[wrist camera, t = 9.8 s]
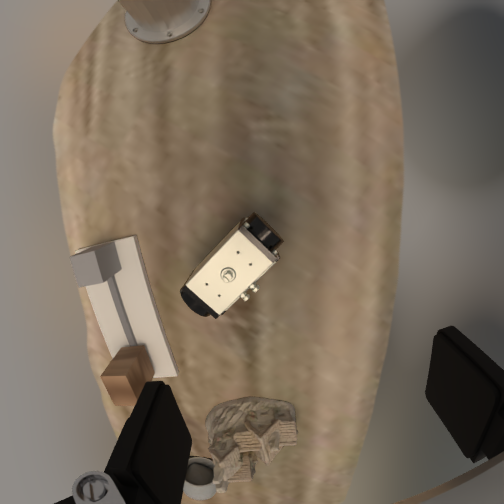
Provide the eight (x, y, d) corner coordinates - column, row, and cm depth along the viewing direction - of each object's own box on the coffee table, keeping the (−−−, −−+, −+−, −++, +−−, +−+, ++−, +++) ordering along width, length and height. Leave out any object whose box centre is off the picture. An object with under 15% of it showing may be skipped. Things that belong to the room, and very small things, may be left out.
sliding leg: (106, 348, 42) (84, 376, 34) (144, 345, 42) (125, 375, 34) (117, 375, 43) (99, 405, 35) (155, 372, 43) (139, 405, 35)
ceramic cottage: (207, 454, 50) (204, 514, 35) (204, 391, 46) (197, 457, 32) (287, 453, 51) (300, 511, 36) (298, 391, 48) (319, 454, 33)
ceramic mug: (184, 474, 52) (179, 501, 44) (182, 453, 50) (176, 482, 42) (233, 479, 52) (233, 507, 45) (236, 459, 50) (235, 488, 43)
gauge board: (79, 249, 41) (52, 261, 34) (136, 234, 40) (114, 246, 33) (124, 375, 45) (109, 401, 38) (178, 371, 45) (168, 399, 38)
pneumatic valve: (192, 268, 41) (170, 302, 29) (252, 204, 39) (252, 215, 28) (222, 295, 42) (211, 338, 30) (283, 234, 40) (296, 257, 28)
